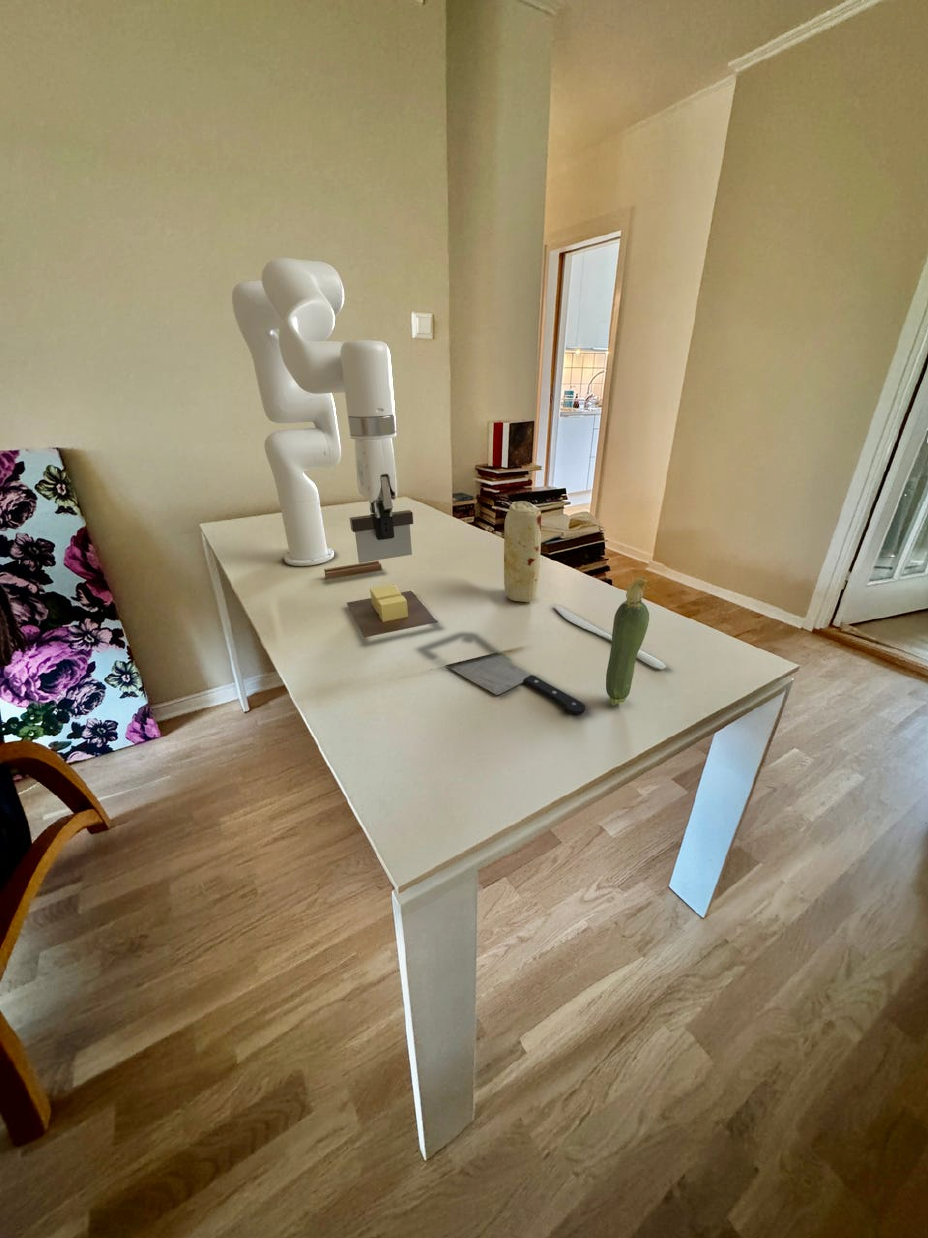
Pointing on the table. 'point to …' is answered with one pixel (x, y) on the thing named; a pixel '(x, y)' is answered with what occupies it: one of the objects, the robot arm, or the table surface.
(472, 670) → the cleaver
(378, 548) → the cutter
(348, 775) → the table surface
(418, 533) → the table surface
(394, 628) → the board
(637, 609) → the vegetable
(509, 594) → the food model
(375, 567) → the holder
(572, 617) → the butter knife
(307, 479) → the robot arm
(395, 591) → the butter stick
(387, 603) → the butter pat
